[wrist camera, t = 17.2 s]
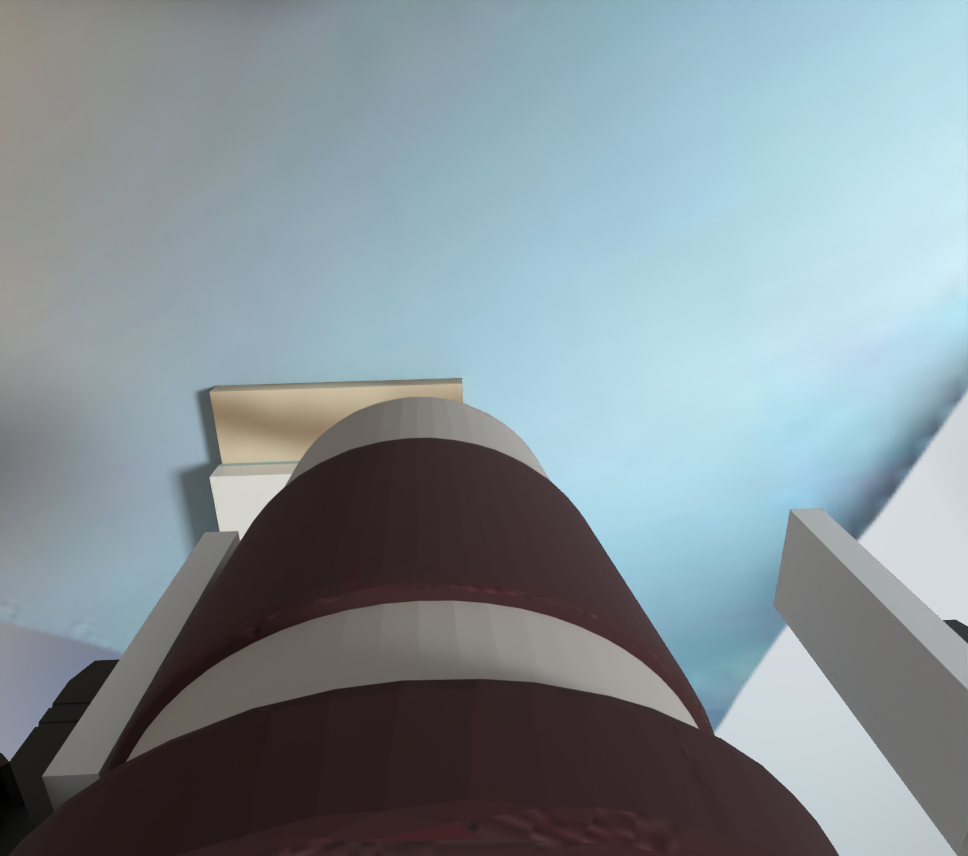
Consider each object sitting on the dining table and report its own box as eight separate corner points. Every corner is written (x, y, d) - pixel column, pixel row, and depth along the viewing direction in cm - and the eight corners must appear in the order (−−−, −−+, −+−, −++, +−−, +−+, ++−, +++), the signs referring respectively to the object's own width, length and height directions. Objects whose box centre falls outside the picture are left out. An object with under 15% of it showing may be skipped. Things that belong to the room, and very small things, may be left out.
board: (215, 385, 43) (209, 391, 42) (461, 378, 44) (462, 383, 43) (255, 615, 50) (250, 625, 49) (469, 605, 51) (469, 615, 49)
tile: (371, 458, 44) (219, 463, 44) (368, 471, 43) (209, 476, 42) (382, 585, 48) (242, 591, 48) (380, 601, 46) (234, 608, 46)
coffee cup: (282, 678, 20) (-4, 1787, 6) (193, 368, 17) (-939, 1408, 3) (601, 629, 21) (976, 1564, 7) (584, 317, 17) (1319, 978, 3)
